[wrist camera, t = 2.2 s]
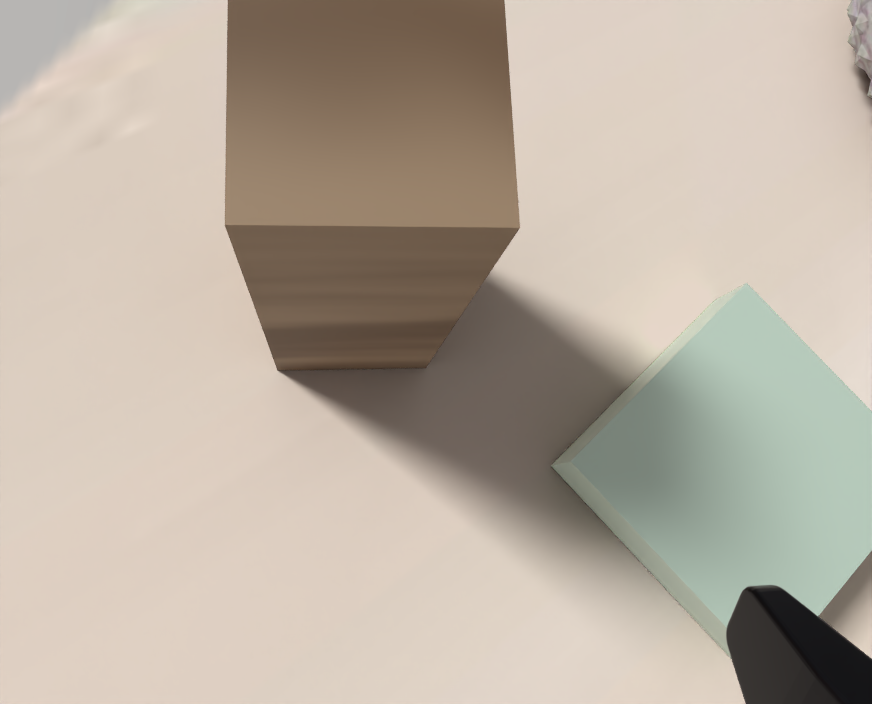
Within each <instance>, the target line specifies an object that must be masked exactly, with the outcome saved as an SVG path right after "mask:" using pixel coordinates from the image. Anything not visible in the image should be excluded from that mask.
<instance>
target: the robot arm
mask: <svg viewBox="0 0 872 704" xmlns="http://www.w3.org/2000/svg"><path fill="white" fill-rule="evenodd" d="M726 640H727V645H728V649H729V652H730V655H731V659H732V662H733V665H734V668H735V671H736V674H737V678H738V681H739V684H740V687H741V690H742V694H743V697H744V700H745V703H746V704H872V659H871V658H870V657H869V656H868V655H866V654H865V653H864V652H862V651H861V650H860V649H859V648H857V647H856V646H855V645H854V644H852V643H851V642H850V641H849V640H847V639H846V638H845V637H844V636H842V635H841V634H840V633H839V632H837V631H836V630H835V629H834V628H832V627H831V626H830V625H828V624H827V623H826V622H825V621H823V620H822V619H821V618H820V617H818V616H817V615H816V614H815V613H813V612H812V611H811V610H810V609H808V608H807V607H806V606H805V605H803V604H802V603H801V602H799V601H798V600H797V599H796V598H794V597H793V596H792V595H791V594H789V593H788V592H787V591H786V590H784V589H783V588H781V587H779V586H776V585H758V586H748V587H746V588H745V589H744V590H743V591H742V592H741V594H740V597H739V599H738V601H737V604H736V606H735V608H734V611H733V613H732V615H731V618H730V620H729V622H728V625H727V630H726Z"/></svg>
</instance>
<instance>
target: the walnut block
mask: <svg viewBox="0 0 872 704" xmlns="http://www.w3.org/2000/svg"><path fill="white" fill-rule="evenodd" d="M225 227H226V229H227V232H228V235H229V238H230V241H231V243H232V246H233V249H234V252H235V254H236V257H237V260H238V263H239V265H240V268H241V271H242V274H243V276H244V279H245V282H246V285H247V287H248V290H249V293H250V296H251V298H252V301H253V304H254V307H255V309H256V312H257V315H258V318H259V320H260V323H261V326H262V329H263V331H264V334H265V337H266V340H267V342H268V345H269V348H270V351H271V354H272V356H273V359H274V362H275V365H276V367H277V370H278V371H280V370H338V369H396V368H426V367H427V365H428V364H429V362H430V361H431V359H432V358H433V356H434V355H435V353H436V352H437V350H438V349H439V347H440V346H441V344H442V343H443V342H444V340H445V339H446V337H447V336H448V334H449V333H450V331H451V330H452V328H453V327H454V325H455V324H456V322H457V321H458V319H459V318H460V316H461V315H462V313H463V312H464V310H465V309H466V307H467V306H468V304H469V303H470V301H471V300H472V298H473V297H474V295H475V294H476V292H477V291H478V289H479V288H480V286H481V285H482V283H483V282H484V280H485V279H486V277H487V276H488V274H489V273H490V271H491V270H492V268H493V267H494V265H495V264H496V263H497V261H498V260H499V258H500V257H501V255H502V254H503V252H504V251H505V249H506V248H507V246H508V245H509V243H510V242H511V240H512V239H513V237H514V236H515V234H516V233H517V231H518V230H519V228H520V223H519V208H518V193H517V179H516V164H515V150H514V135H513V120H512V106H511V91H510V76H509V62H508V47H507V33H506V18H505V3H504V0H228V30H227V104H226V178H225Z"/></svg>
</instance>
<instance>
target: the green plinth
mask: <svg viewBox="0 0 872 704" xmlns="http://www.w3.org/2000/svg"><path fill="white" fill-rule="evenodd" d="M551 467H552V468H553V469H554V470H555V471H556V472H557V473H558V474H559V475H560V476H561V477H562V478H563V479H564V480H565V481H566V483H567V484H568V485H569V486H570V487H571V488H572V489H573V490H574V491H575V492H576V493H577V494H578V495H579V496H580V498H581V499H582V500H583V501H584V502H585V503H586V504H587V505H588V506H589V507H590V508H591V509H592V510H593V511H594V512H595V514H596V515H597V516H598V517H599V518H600V519H601V520H602V521H603V522H604V523H605V524H606V525H607V526H608V527H609V529H610V530H611V531H612V532H613V533H614V534H615V535H616V536H617V537H618V538H619V539H620V540H621V541H622V542H623V544H624V545H625V546H626V547H627V548H628V549H629V550H630V551H631V552H632V553H633V554H634V555H635V556H636V557H637V558H638V560H639V561H640V562H641V563H642V564H643V565H644V566H645V567H646V568H647V569H648V570H649V571H650V572H651V573H652V575H653V576H654V577H655V578H656V579H657V580H658V581H659V582H660V583H661V584H662V585H663V586H664V587H665V588H666V589H667V591H668V592H669V593H670V594H671V595H672V596H673V597H674V598H675V599H676V600H677V601H678V602H679V603H680V604H681V606H682V607H683V608H684V609H685V610H686V611H687V612H688V613H689V614H690V615H691V616H692V617H693V618H694V619H695V621H696V622H697V623H698V624H699V625H700V626H701V627H702V628H703V629H704V630H705V631H706V632H707V633H708V634H709V635H710V637H711V638H712V639H713V640H714V641H715V642H716V643H717V644H718V645H719V646H720V647H721V648H722V649H723V650H724V652H725V653H726V654H727V655H728V656H729V657H730V658H731V655H730V652H729V649H728V645H727V640H726V630H727V625H728V622H729V620H730V618H731V615H732V613H733V611H734V608H735V606H736V604H737V601H738V599H739V597H740V594H741V592H742V591H743V590H744V589H745V588H746V587H748V586H758V585H776V586H779V587H781V588H783V589H784V590H786V591H787V592H788V593H789V594H791V595H792V596H793V597H794V598H796V599H797V600H798V601H799V602H801V603H802V604H803V605H805V606H806V607H807V608H808V609H810V610H811V611H812V612H813V613H815V614H816V615H817V616H819V615H820V613H821V612H822V611H823V610H824V609H825V607H826V606H827V605H828V604H829V602H830V601H831V600H832V599H833V597H834V596H835V595H836V594H837V593H838V591H839V590H840V589H841V588H842V586H843V585H844V584H845V583H846V582H847V580H848V579H849V578H850V577H851V575H852V574H853V573H854V572H855V570H856V569H857V568H858V567H859V566H860V564H861V563H862V562H863V561H864V559H865V558H866V557H867V556H868V555H869V553H870V552H871V551H872V411H871V410H870V409H869V408H868V407H867V406H866V405H865V404H864V403H863V402H862V401H861V400H860V399H859V398H858V397H857V396H856V395H855V394H854V393H853V392H852V391H851V390H850V389H849V388H848V387H847V386H846V385H845V384H844V382H843V381H842V380H841V379H840V378H839V377H838V376H837V375H836V374H835V373H834V372H833V371H832V370H831V369H830V368H829V367H828V366H827V365H826V364H825V363H824V362H823V361H822V360H821V359H820V358H819V357H818V356H817V355H816V354H815V353H814V352H813V351H812V350H811V349H810V348H809V347H808V346H807V344H806V343H805V342H804V341H803V340H802V339H801V338H800V337H799V336H798V335H797V334H796V333H795V332H794V331H793V330H792V329H791V328H790V327H789V326H788V325H787V324H786V323H785V322H784V321H783V320H782V319H781V318H780V317H779V316H778V315H777V314H776V313H775V312H774V311H773V310H772V309H771V307H770V306H769V305H768V304H767V303H766V302H765V301H764V300H763V299H762V298H761V297H760V296H759V295H758V294H757V293H756V292H755V291H754V290H753V289H752V288H751V287H750V286H749V285H748V284H747V283H745V284H744V285H742V286H740V287H738V288H736V289H734V290H733V291H731V292H729V293H727V294H725V295H723V296H722V297H720V298H718V299H716V300H714V301H713V302H712V304H711V305H710V306H709V307H708V308H707V309H706V310H705V311H704V312H703V313H702V314H701V315H700V316H699V317H698V318H697V319H696V320H695V321H694V322H693V323H692V324H691V325H690V326H689V327H688V328H687V329H686V330H685V331H684V332H683V333H682V334H681V335H680V336H679V337H678V338H677V339H676V340H675V341H674V342H673V343H672V344H671V345H670V346H669V347H668V348H667V349H666V350H665V351H664V352H663V353H662V354H661V355H660V356H659V357H658V358H657V359H656V360H655V361H654V362H653V363H652V364H651V365H650V366H649V367H648V368H647V369H646V370H645V371H644V372H643V373H642V374H641V375H640V376H639V377H638V378H637V379H636V380H635V381H634V382H633V383H632V384H631V385H630V386H629V387H628V388H627V389H626V390H625V391H624V392H623V393H622V394H621V395H620V396H619V397H618V398H617V399H616V400H615V401H614V402H613V403H612V404H611V405H610V406H609V407H608V408H607V409H606V410H605V411H604V412H603V413H602V414H601V415H600V416H599V417H598V418H597V419H596V420H595V421H594V422H593V423H592V424H591V425H590V426H589V427H588V428H587V430H586V431H585V432H584V433H583V434H582V435H581V436H580V437H579V438H578V439H577V440H576V441H575V442H574V443H573V444H572V445H571V446H570V447H569V448H568V449H567V450H566V451H565V452H564V453H563V454H562V455H561V456H560V457H559V458H558V459H557V460H556V461H555V462H554V463H553V464H552V465H551Z"/></svg>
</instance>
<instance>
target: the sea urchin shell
mask: <svg viewBox="0 0 872 704" xmlns="http://www.w3.org/2000/svg"><path fill="white" fill-rule="evenodd" d="M847 10H848V13H847V14H848V16H849V19H850V21H851V23H852V26H853V27H852V31H851V33H850V36H849V38H848V41H847V42H848V43H849V44H850V45H851V46H852V47H853V48H854V51H855V52H856V59H855V65H856V66H858V67H859V68H861V69H863V70H864V71H865V72H866V73H867V75H868V76H869V78H870V80H871V82H870V86H869V91H868V95H867V96H869V97H870V98H872V0H851V3H850V5H849V7H848V9H847Z"/></svg>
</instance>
